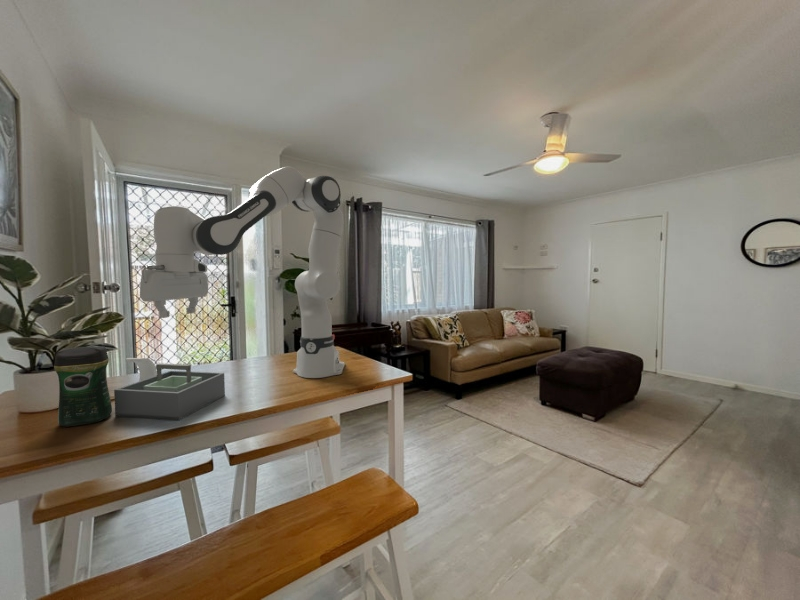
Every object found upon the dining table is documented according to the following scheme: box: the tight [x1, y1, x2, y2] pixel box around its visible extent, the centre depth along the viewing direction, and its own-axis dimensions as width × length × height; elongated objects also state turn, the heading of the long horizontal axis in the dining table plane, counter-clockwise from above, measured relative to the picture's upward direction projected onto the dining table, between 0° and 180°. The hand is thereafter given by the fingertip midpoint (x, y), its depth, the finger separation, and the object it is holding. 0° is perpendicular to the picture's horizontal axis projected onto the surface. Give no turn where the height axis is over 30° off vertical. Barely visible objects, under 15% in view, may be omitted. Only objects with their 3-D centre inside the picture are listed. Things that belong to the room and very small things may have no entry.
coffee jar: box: [53, 346, 113, 427], centre depth 83 cm, size 10×8×19 cm
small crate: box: [144, 363, 202, 392], centre depth 93 cm, size 10×10×11 cm
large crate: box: [113, 370, 226, 421], centre depth 93 cm, size 18×18×7 cm
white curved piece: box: [125, 357, 157, 382], centre depth 101 cm, size 5×6×12 cm
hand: (178, 315), depth 93 cm, fingers open, 8 cm apart
